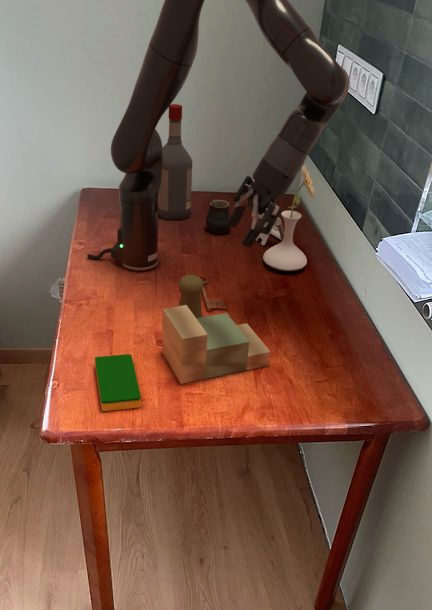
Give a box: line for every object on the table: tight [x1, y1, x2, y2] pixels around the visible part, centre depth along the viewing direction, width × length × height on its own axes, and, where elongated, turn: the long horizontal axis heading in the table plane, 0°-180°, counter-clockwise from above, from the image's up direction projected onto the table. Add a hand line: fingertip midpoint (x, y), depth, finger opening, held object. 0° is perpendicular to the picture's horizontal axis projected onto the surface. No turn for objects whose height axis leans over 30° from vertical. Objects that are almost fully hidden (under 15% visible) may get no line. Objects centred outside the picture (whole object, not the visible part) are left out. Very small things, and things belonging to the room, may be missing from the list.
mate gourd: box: [205, 199, 231, 235], centre depth 171 cm, size 7×8×10 cm
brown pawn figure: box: [178, 274, 204, 318], centre depth 132 cm, size 6×6×11 cm
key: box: [198, 276, 226, 312], centre depth 146 cm, size 6×1×15 cm
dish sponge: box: [94, 353, 142, 412], centre depth 116 cm, size 7×14×2 cm, turn 13°
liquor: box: [158, 103, 193, 221], centre depth 172 cm, size 9×9×30 cm
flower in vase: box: [262, 165, 316, 272], centre depth 153 cm, size 13×11×25 cm
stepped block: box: [161, 305, 271, 385], centre depth 122 cm, size 19×11×10 cm, turn 113°
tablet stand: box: [255, 213, 285, 246], centre depth 169 cm, size 9×8×8 cm
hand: (238, 235), depth 128 cm, fingers open, 8 cm apart
